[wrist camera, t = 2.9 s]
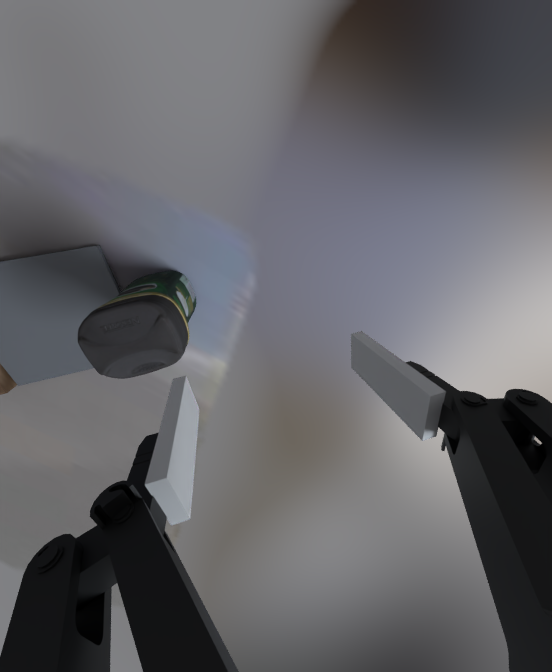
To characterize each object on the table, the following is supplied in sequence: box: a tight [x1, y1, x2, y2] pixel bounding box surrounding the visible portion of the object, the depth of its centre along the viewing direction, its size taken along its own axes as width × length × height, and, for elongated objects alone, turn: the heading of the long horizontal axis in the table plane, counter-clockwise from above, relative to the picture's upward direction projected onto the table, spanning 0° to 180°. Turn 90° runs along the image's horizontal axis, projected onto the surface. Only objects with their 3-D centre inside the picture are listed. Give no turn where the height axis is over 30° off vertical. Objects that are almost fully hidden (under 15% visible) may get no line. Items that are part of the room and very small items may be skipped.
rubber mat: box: [0, 245, 121, 386], centre depth 36 cm, size 18×20×1 cm
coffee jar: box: [78, 271, 196, 378], centre depth 30 cm, size 10×8×19 cm
